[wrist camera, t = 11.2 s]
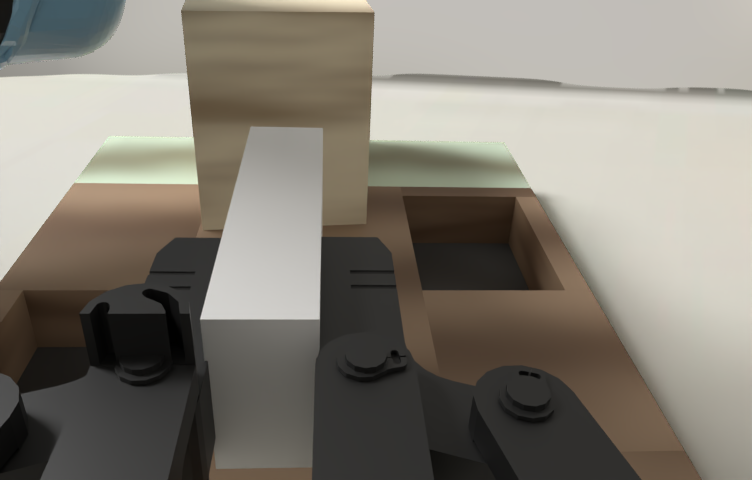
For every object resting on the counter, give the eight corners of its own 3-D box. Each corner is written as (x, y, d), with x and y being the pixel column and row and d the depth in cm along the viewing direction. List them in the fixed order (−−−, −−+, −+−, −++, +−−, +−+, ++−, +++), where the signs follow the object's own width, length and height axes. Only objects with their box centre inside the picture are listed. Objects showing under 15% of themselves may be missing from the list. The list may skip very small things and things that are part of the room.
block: (366, 223, 30) (374, 12, 26) (202, 230, 29) (181, 10, 25) (341, 138, 39) (344, -31, 34) (213, 141, 38) (199, -34, 33)
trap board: (855, 925, 13) (923, 859, 12) (-392, 1012, 11) (-498, 950, 10) (497, 189, 41) (504, 142, 39) (117, 185, 39) (109, 136, 38)
